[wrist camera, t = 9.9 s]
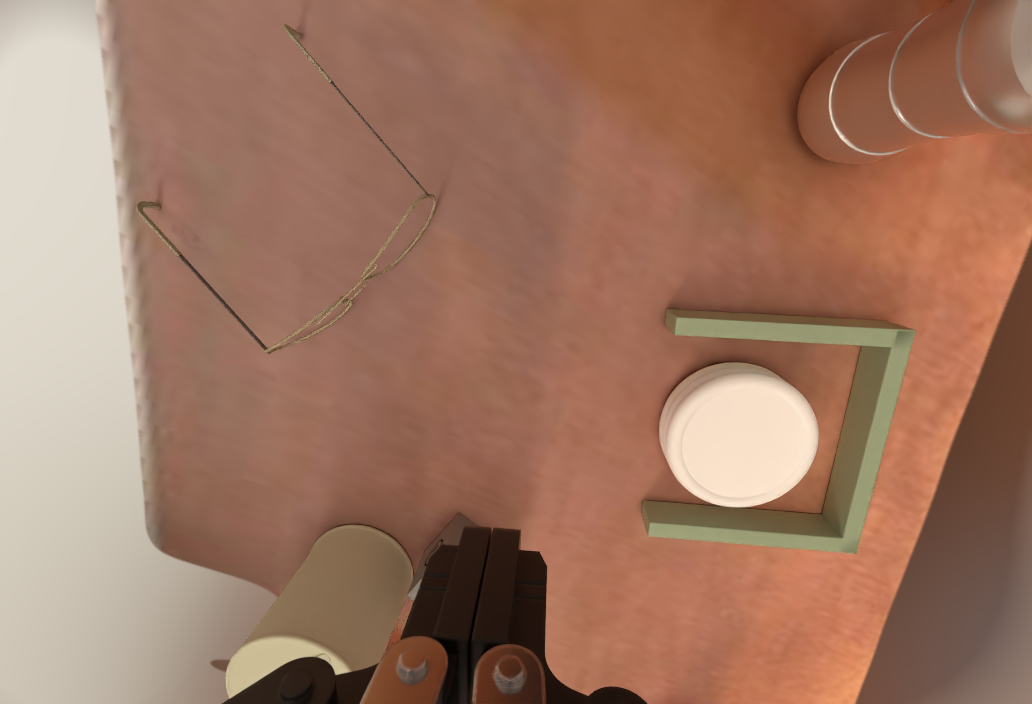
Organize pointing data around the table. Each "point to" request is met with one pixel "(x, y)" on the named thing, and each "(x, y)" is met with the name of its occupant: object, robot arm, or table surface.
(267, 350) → the eyeglasses
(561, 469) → the table surface
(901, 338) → the green u-shaped frame
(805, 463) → the coaster
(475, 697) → the robot arm
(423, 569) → the dice cube
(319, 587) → the can
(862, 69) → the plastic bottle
